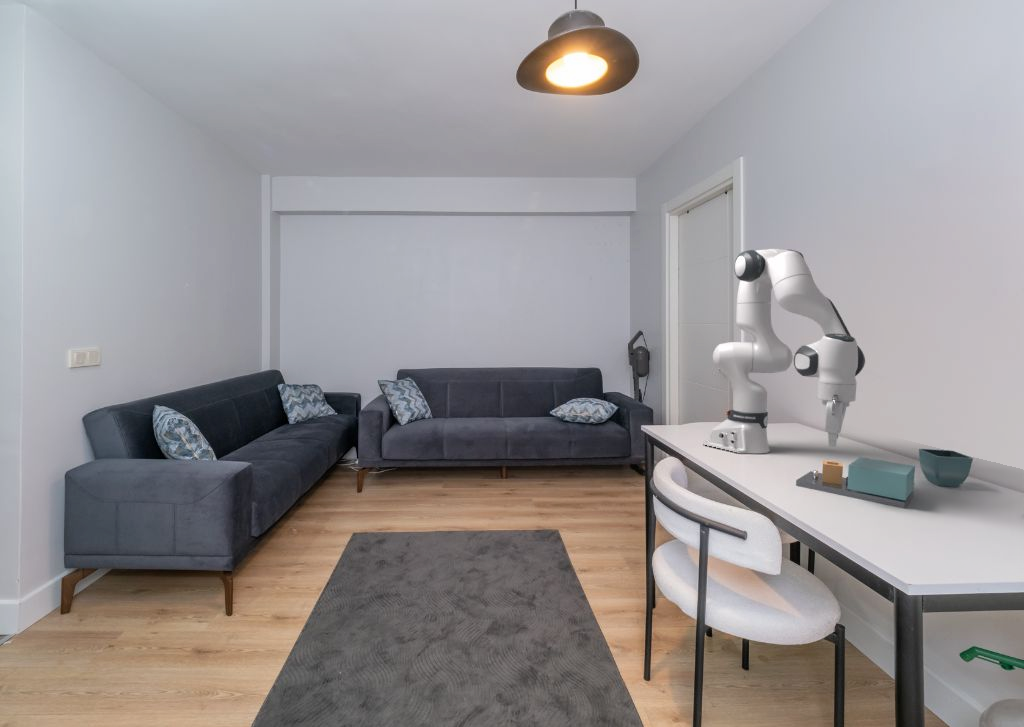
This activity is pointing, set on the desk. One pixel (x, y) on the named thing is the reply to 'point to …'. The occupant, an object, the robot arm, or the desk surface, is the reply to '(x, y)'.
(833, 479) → the hollow square tube
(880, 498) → the housing base
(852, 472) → the cover
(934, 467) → the flower pot
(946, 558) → the desk surface
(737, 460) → the desk surface
